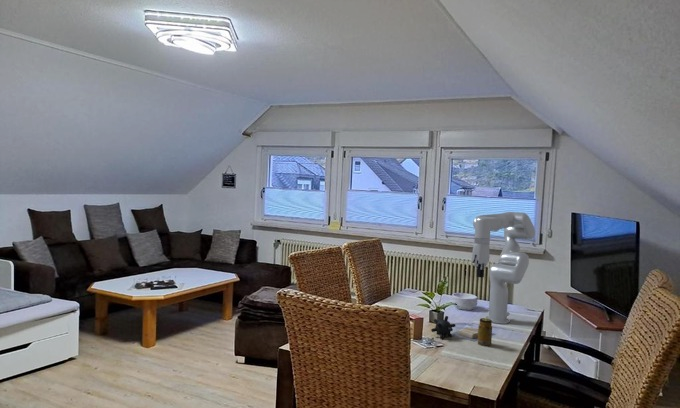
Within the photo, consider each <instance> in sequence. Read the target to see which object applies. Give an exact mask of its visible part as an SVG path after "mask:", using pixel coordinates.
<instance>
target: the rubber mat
mask: <svg viewBox="0 0 680 408" xmlns="http://www.w3.org/2000/svg"><path fill="white" fill-rule="evenodd" d="M470 327H471V326H470ZM471 328H473V327H471ZM474 328H475V329H477V328H476V327H474ZM450 333H451V334H452V336H453V337H458V338H461V339H463V340H468V341H470V342H474V343H475V342H478V337H475V338H468V337H465V336H462V335H458V330H457V331H454V332H450ZM496 334H497V333H493V332H492V337H493V336H496Z"/></svg>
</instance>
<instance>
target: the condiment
mask: <svg viewBox="0 0 680 408" xmlns="http://www.w3.org/2000/svg"><path fill="white" fill-rule="evenodd" d="M477 329H478V341H477V345H479V346H482V347H491V346H492V340H493V339H492V338H493V336H492V333H493V323H492V321H491V320H490V319H487V318H486V317H485V318H484V317H482V318H480V319H479V324H478V327H477Z"/></svg>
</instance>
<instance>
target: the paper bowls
mask: <svg viewBox="0 0 680 408" xmlns="http://www.w3.org/2000/svg"><path fill="white" fill-rule="evenodd" d="M451 303H452V304H453V303H456V304H457V305H454V306H455V308H456V309H458V310H461V309H462V310H463V311H472V310H474V307H476V306H478V296H476V295H474V294H472V293H466V292H454V293H452V294H451ZM462 310H461V311H462Z"/></svg>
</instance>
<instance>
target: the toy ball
mask: <svg viewBox="0 0 680 408" xmlns="http://www.w3.org/2000/svg"><path fill="white" fill-rule="evenodd" d="M448 320H449V316H447V315H445V316H444V319H439V320H437V319H436V318H434V319H433V322H434V323H435V325H434V328H433V327H432V328H431V332H432V333H436V335H439V339H440V340H443V339H444V337H446V336H447V337H449V338H451V337H453V335H452V334H451V333H452V332H453V331H454V328H456V325H457V324H456V323H450V322H449V321H448Z"/></svg>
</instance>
